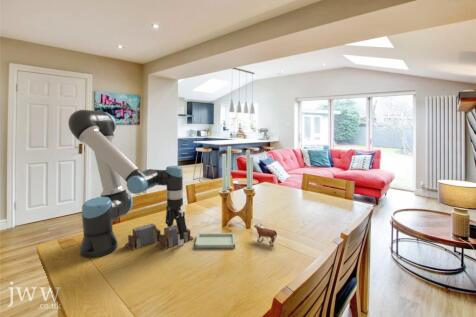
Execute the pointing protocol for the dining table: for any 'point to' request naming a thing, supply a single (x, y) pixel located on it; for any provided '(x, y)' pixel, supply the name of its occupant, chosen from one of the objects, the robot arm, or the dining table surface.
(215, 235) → the tray
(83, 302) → the dining table surface
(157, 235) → the holder
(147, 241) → the fuse
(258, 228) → the bull figurine
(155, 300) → the dining table surface
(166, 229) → the block
